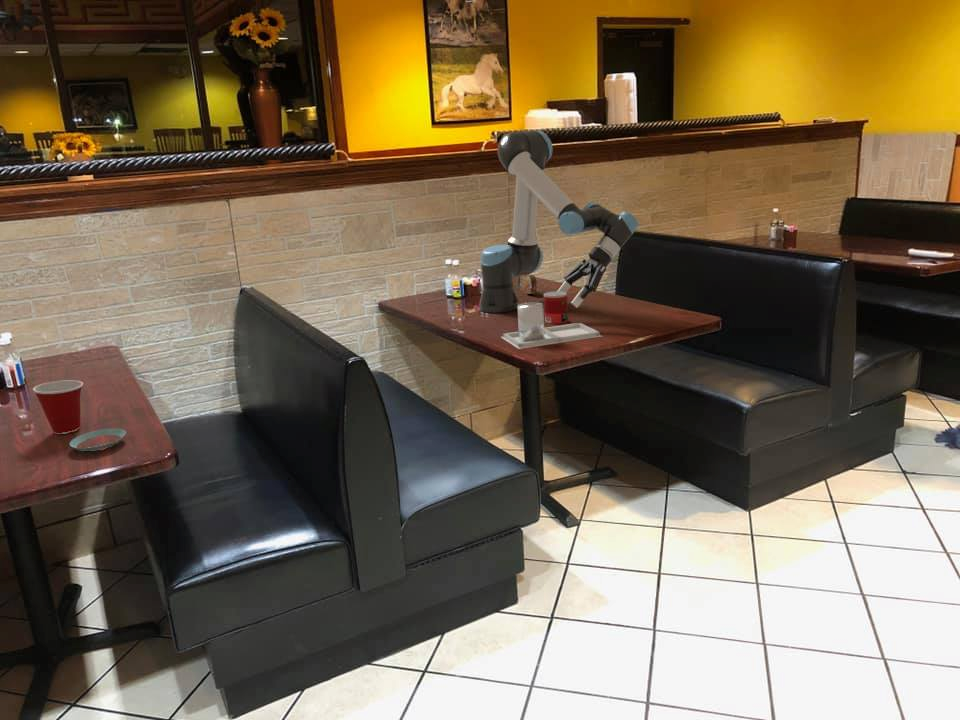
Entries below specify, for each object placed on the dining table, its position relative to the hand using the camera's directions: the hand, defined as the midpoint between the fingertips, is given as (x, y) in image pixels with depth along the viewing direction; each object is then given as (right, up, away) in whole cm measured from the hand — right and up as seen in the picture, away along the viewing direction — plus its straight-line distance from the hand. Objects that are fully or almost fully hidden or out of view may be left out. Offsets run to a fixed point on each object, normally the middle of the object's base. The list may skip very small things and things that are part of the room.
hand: (565, 301), depth 254 cm
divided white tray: (-6, -14, -17) cm, 23 cm away
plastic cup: (-130, -37, -69) cm, 152 cm away
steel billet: (-13, -13, -19) cm, 27 cm away
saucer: (-117, -40, -80) cm, 148 cm away
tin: (-9, +8, +56) cm, 57 cm away
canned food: (-3, -8, +3) cm, 9 cm away
